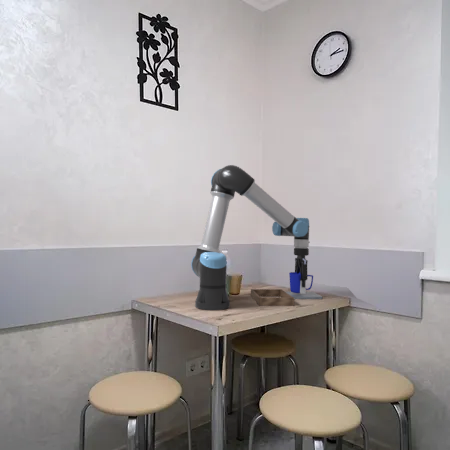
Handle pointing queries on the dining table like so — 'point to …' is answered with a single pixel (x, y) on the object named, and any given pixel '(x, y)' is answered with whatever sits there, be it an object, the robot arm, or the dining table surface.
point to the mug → (296, 282)
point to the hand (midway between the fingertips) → (300, 291)
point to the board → (305, 295)
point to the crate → (283, 301)
